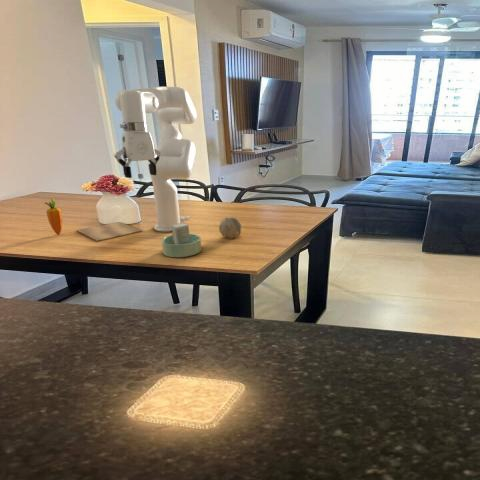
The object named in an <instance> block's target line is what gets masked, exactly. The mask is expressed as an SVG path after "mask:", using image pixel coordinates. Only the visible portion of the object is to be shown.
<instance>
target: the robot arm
mask: <svg viewBox="0 0 480 480" xmlns="http://www.w3.org/2000/svg"><path fill="white" fill-rule="evenodd" d="M114 105H115V106H116V108H117V109H118V110H119V111H120V112H121V119H122V123H120V124H119V128H120V129H122V130H123V131H122V133H121V149H120V150H118V151H117V152H115V153H114V154H113V156H114V158H115V160H116V162H117V163H118V164H120V166H121V167H122V168H123V175H124V177H125V178H127V179H132V178H133V176H132V169H131V166H130V165H131V163H132V162H140V161H141V162H142V161H148V163H147V167H148V168H147V169H148V172H149V175H150V179H151V182H152V188H153V198H154V205H155V215H156V223H157V224H155V225H154V226H153V228H154V231H157V232H161V233H162V232H163V233H165V232H166V233H167V232H168V233H169V232H172V228H171V225H175V224H180V223H185V222H188V221H190V220H191V217H190V216H189V215H187V216H181V215H180V206H179V196H178V189H177V186H176V184H175V183H174V182H173V180H188V179H190V177H191V176H192V175H193V170H194V166H195V160H196V152H197V151H196V145H195V143H194V141H192V140H191V139H187V138H182V134H181V132H180V130H179V129H178V128H177V127H176V126H174V125H175V124H176V125H177V124H178V125H181V124H182V125H191V124H194V123H195V122H196V121H197V110H196V108H195V105H194V103H193V101H192V99H191V96H190V94H189V92H188V91H187V90H186V89H185V88H184V87H181V86H156V87H145V88H136V89H123V90H118V91H117V92H116V93H115V97H114ZM153 113H156V118H157V121H158V126H159V129H160V132H161V133H160V139H159V141H158V145H157V149H156V148H155V146H154V141H153V137H152V135H151V132H150V131H148V123H147V116H146V114H153ZM173 124H174V125H173ZM121 156H122V157H123V159H122V157H121Z"/></svg>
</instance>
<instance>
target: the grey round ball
mask: <svg viewBox="0 0 480 480" xmlns="http://www.w3.org/2000/svg"><path fill="white" fill-rule="evenodd" d="M242 227H243V226H242V223H241V221H240V220H239V219H238V218H236V217H233V216H230V217H229V216H226V217H224V218H223V219H222V220H221V221H220V223H219V227H218V231H219V233H220V234H221V236H222V237H226V238H227V239H230V240H231V239H235V238H237V237H239V236H240V235H241V233H242Z"/></svg>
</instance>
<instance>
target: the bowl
mask: <svg viewBox="0 0 480 480" xmlns="http://www.w3.org/2000/svg"><path fill="white" fill-rule="evenodd" d="M189 236H190V243H188V244H180V245H174V243H173V236H172V234H171V235H168V236H165V237H163V238H162V239H161V251H162V254H163V255H164V256H166V257H170V258H187V257H190V256H194V255H197V254H199V253H200V252H201V251H202V238H201V236H200V235H198V234H196V233H189Z"/></svg>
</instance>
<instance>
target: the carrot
mask: <svg viewBox="0 0 480 480" xmlns="http://www.w3.org/2000/svg"><path fill="white" fill-rule="evenodd" d="M44 204H45V205H47V206H48V207H49V208H48V209H46V211H45V212H46V215H47V220H48V223H49V225H50V227H51V229H52V230H53V231H54V233H55V234H56V235H58V236H59V235H60V234H61V232H62V230H63V215H62V209H60V208H59V207H56V204H57V201H56V200H55V199H54V198H51V199H50V201H48V202H44Z"/></svg>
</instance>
